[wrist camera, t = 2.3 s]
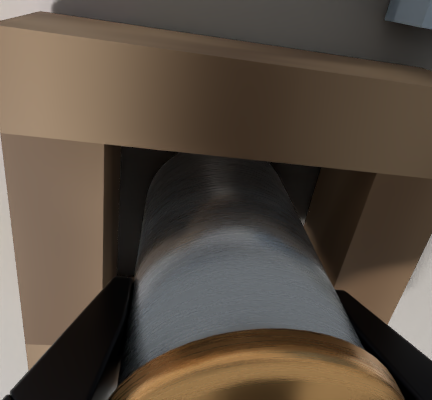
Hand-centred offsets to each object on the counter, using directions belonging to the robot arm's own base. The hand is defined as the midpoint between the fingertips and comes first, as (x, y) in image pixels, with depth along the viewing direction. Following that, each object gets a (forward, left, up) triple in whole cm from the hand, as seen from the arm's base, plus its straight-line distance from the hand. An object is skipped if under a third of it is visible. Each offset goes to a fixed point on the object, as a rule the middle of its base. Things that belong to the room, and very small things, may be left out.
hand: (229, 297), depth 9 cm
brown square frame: (0, 0, -4) cm, 4 cm away
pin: (0, 0, -4) cm, 4 cm away
